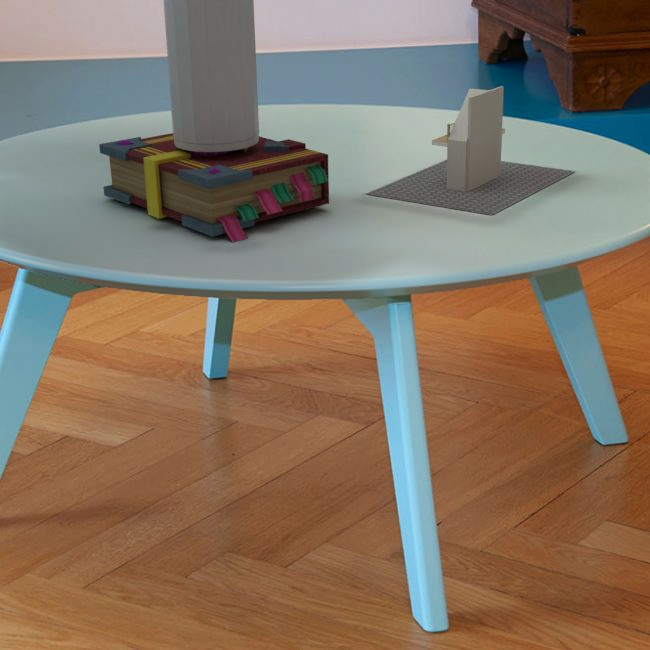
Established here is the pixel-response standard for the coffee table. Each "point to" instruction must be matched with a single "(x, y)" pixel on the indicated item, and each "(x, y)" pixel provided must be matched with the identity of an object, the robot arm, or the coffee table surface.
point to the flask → (212, 74)
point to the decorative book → (217, 182)
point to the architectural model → (474, 164)
